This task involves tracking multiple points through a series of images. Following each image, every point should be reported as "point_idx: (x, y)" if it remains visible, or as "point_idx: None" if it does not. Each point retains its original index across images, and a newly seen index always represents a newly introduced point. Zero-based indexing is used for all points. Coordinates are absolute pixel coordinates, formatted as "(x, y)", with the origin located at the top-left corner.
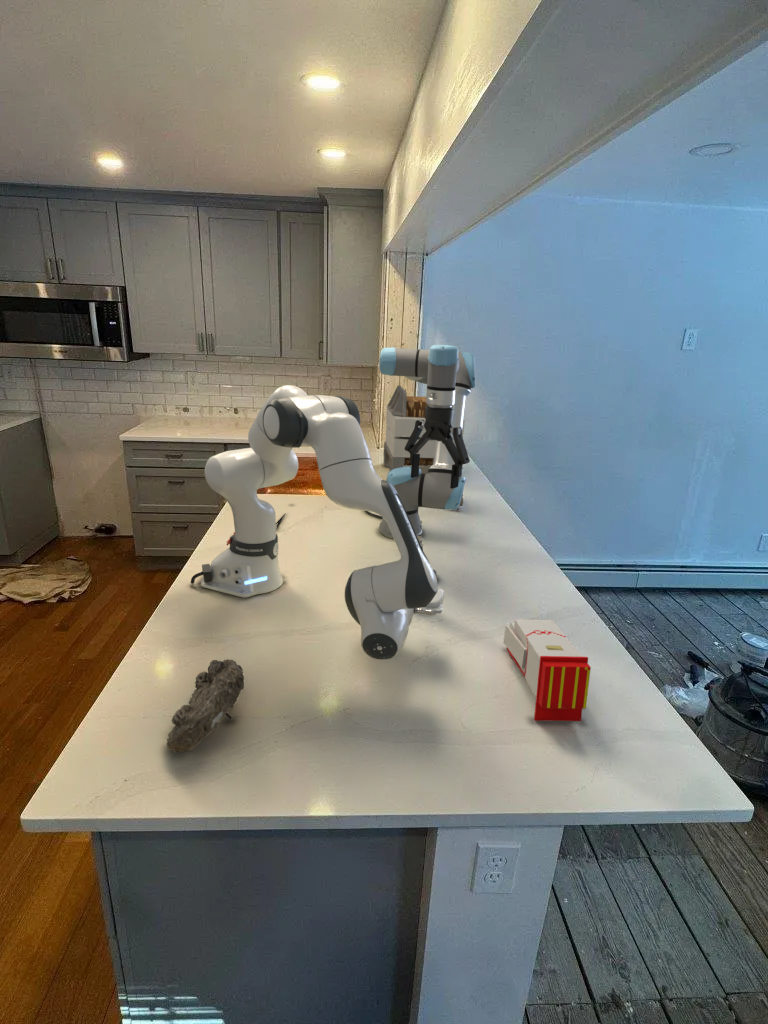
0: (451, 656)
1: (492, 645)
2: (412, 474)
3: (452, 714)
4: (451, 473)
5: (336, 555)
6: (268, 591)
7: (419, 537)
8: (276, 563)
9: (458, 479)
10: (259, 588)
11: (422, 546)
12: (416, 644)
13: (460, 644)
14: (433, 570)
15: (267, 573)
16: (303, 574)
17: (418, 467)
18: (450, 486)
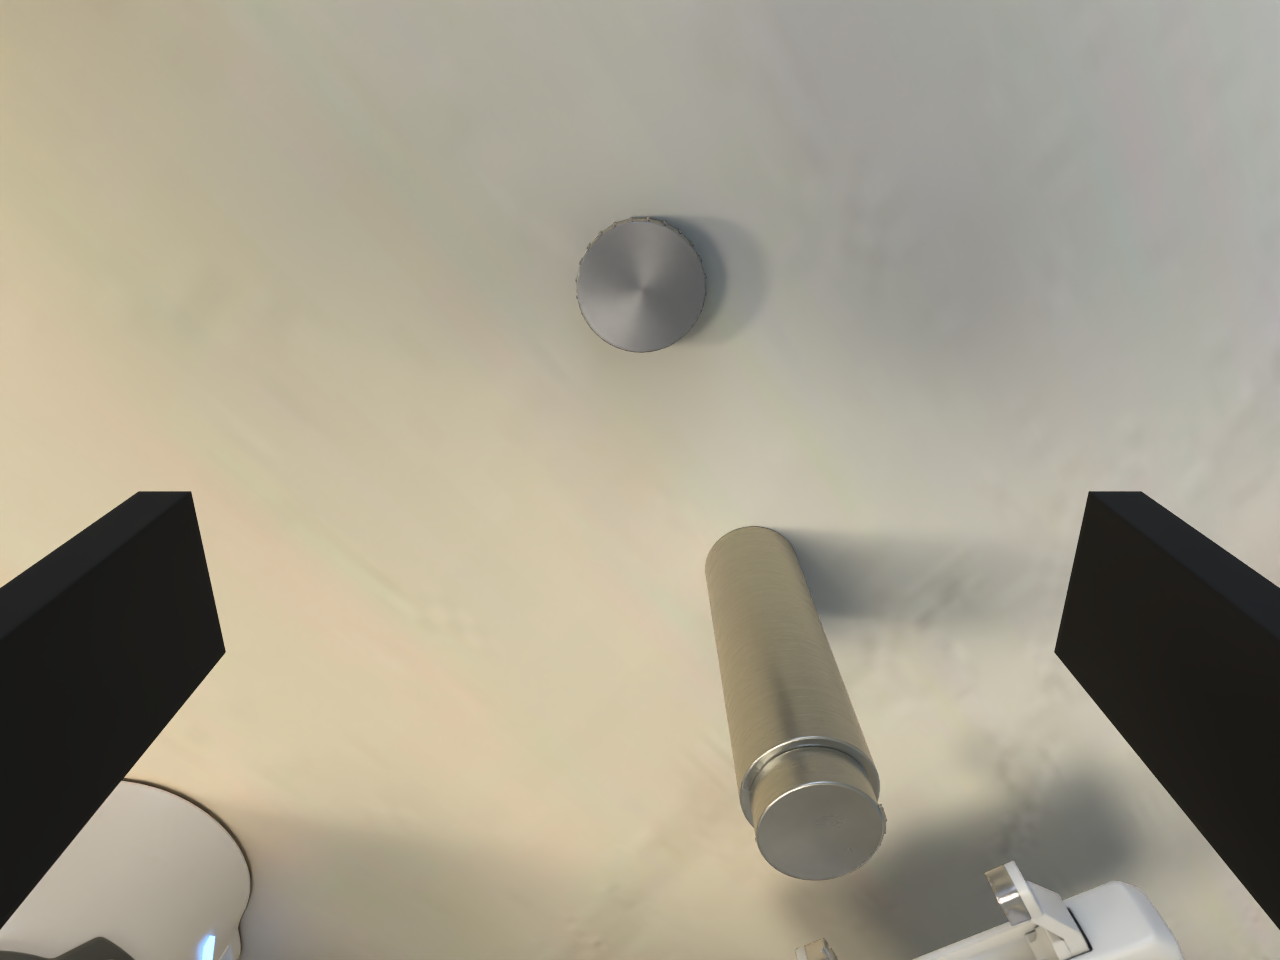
0: (1109, 755)
1: None
2: (183, 690)
3: (1228, 951)
4: (1225, 861)
5: (53, 431)
6: (249, 890)
7: (840, 799)
8: (152, 925)
9: (1233, 566)
10: (228, 932)
11: (874, 777)
12: (958, 778)
13: None
14: (658, 237)
15: (194, 951)
16: None
17: (82, 601)
18: (1071, 669)
